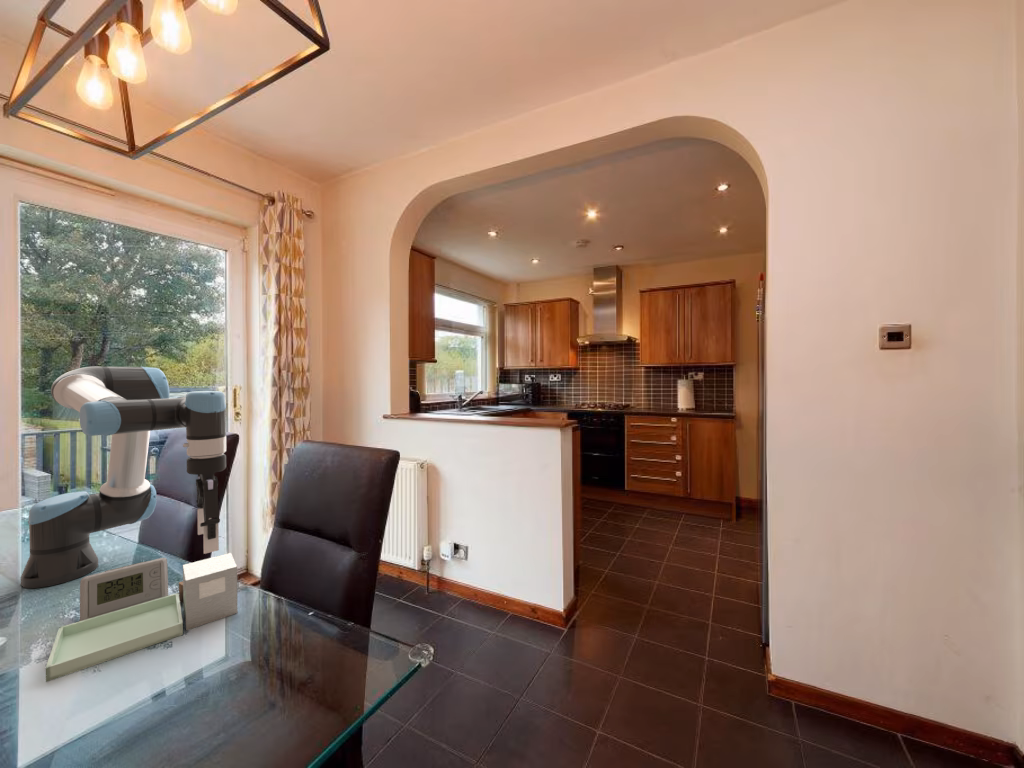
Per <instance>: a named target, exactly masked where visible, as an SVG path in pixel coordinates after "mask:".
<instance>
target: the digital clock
mask: <svg viewBox="0 0 1024 768" xmlns="http://www.w3.org/2000/svg"><path fill="white" fill-rule="evenodd" d="M168 572H169V570H168V559H167V557H159V558H156V559H151V560H148V561H141V562H137V563H133V564H127V565H125V566H121V567H115V568H113V569H108V570H105V571H103V572H99V573H95V574H91V575H85V576H84V577H81V579H80V583H79V621H83V620H86V619H89V618H93V617H96V616H100V615H103V614H107V613H110V612H114V611H117V610H121V609H124V608H128V607H131V606H134V605H138V604H141V603H145V602H148V601H152V600H155V599H159V598H162V597H166V596H169V573H168Z"/></svg>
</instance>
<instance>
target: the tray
mask: <svg viewBox="0 0 1024 768" xmlns="http://www.w3.org/2000/svg"><path fill="white" fill-rule="evenodd" d="M182 614H183V613H182V609H181V602H180V600H179V592H177V593H172V594H168V596H166V597H162V598H159V599H155V600H152V601H148V602H145V603H141V604H138V605H134V606H131V607H128V608H124V609H121V610H117V611H114V612H110V613H107V614H103V615H100V616H96V617H93V618H89V619H86V620H83V621H80V620H79V621H77V622H73V623H69V624H66V625H61V626H60V627H58V631H57V633H56V637H55V640H54V642H53V645H52V648H51V651H50V654H49V657H48V659H47V662H46V666H45V668H44V669H45V682H46V683H47V682H49V681H53V680H56V679H59V678H62V677H65V676H68V675H71V674H73V673H76V672H79V671H82V670H84V669H88V668H91V667H94V666H96V665H100V664H102V663H105V662H108V661H110V660H111V661H112V660H113V659H116V658H120V657H123V656H125V655H128V654H131V653H134V652H136V651H139V650H143V649H145V648H148V647H152V646H154V645H157V644H160V643H162V642H166V641H168V640H171V639H174V638H177V637H180V636H183V635H184V633H183V632H184V629H183V626H184V625H183V615H182Z"/></svg>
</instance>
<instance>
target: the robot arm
mask: <svg viewBox="0 0 1024 768" xmlns="http://www.w3.org/2000/svg"><path fill="white" fill-rule="evenodd" d="M50 393H51V396H52V398H53V399H54V401H55V402H56V403H58V404H59V405H61V406H63V407H64V408H66V409H70V410H75V411H77V412H78V413H79V425H80V429H81V431H82V433H83V434H84V435H86V436H89V437H90V436H91V437H92V436H93V437H95V436H111V443H110V450H109V451H110V452H109V462H108V470H107V471H108V473H107V481H106V482H105V483H102V484H101V486H100V487H99V493H94V494H90V493H89V492H87V491H83V490H82V491H81V490H80V491H74V492H69V493H68V492H66V493H62V494H59V495H55V496H51V497H48V498H46V499H43V500H41V501H39V502H37V503H35V504H33V505H32V506H31V507H30V509H29V513H28V520H27V524H28V530H29V531H28V533H29V558H27V559H28V560H27V562H26V564H25V566H24V569H23V571H22V573H21V575H20V586H21V585H22V586H23V587H22V586H21V587H22V588H26V589H37V588H38V589H40V588H46V587H50V586H56V585H59V584H64V583H67V582H71V581H73V580H77V579H79V578H83V576H84V577H85V576H87V575H88V574H90V573H92V572H94V571H95V570H96V569H98V567H99V557H98V555H97V553H96V551H95V549H94V548H93V546H92V544H91V543H90V542H91V541H90V534H93V533H96V532H100V531H105V530H110V529H113V528H117V527H121V526H125V525H132V524H135V523H138V522H141V521H142V522H143V521H145V520H147V519H149V518H150V517H151V516H152V515H153V513H154V511H155V510H156V509H155V508H156V505H157V490H156V488H155V486H154V485H153V484H151V483H150V481H149V480H148V479H145V478H146V470H147V463H148V456H149V455H148V454H149V453H148V452H149V445H150V444H149V443H150V436H151V431H163V430H172V429H173V430H174V429H185V433H186V434H185V438H186V442H184V443H183V444H182V447H183V448H186V456H188V457H187V458H186V473H187V474H189V475H192V476H193V475H195V476H197V479H195V486H196V492H197V493H196V500H195V501H196V502H195V503H197V504H196V507H197V535H198V536H200V535H203V538H202V539H203V555H204V554H205V555H206V554H209V553H213V552H217V551H219V550H220V547H219V546H220V545H219V544H220V543H219V541H220V540H219V524H220V522H221V519H220V510H219V509H220V508H219V497H218V496H219V495H218V494H219V488H218V485H219V478H218V477H217V476H215V474H216V473H220V472H223V471H224V470H226V469H227V455H226V454H225V453H226V452H227V435H226V434H227V429H226V428H227V427H226V425H227V423H226V422H227V419H226V418H227V417H226V416H227V411H226V410H227V404H226V403H227V402H226V395H225V393H224V392H223V391H220V390H199V391H198V390H197V391H196V390H195V391H194V390H193V391H189V392H188V393H186V395H185V396H177V397H172V398H170V386H169V381H168V379H167V376H166V375H165V373H164V371H162V370H161V369H160V368H158V367H146V366H142V365H141V366H97V365H96V366H95V365H93V366H85V367H80V368H76V369H73V370H70V371H68V372H65V373H63V374H61V375H60V376H59V377H57V378H56V379H55V380H54V381H53V382H52V385H51V389H50Z"/></svg>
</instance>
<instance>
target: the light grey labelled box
mask: <svg viewBox="0 0 1024 768" xmlns="http://www.w3.org/2000/svg"><path fill="white" fill-rule="evenodd" d="M182 581H183V603H182V605H183V607H182V608H183V617H184V623H185V624H184V625H185V629H186V630H185V631H189V630H192V629H194V628H198V627H200V626H204V625H206V624H210V623H213V622H216V621H219V620H221V619H224V618H227V617H230V616H233V615H236V614H238V612H239V611H238V608H239V607H238V565H237V564H236V561H235V559H234V556H233V554H232V552H228V553H225V554H221V555H217V556H213V557H208V558H204V559H200V560H197V561H194V562H190V563H185V564H183V565H182ZM235 613H236V614H235Z"/></svg>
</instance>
